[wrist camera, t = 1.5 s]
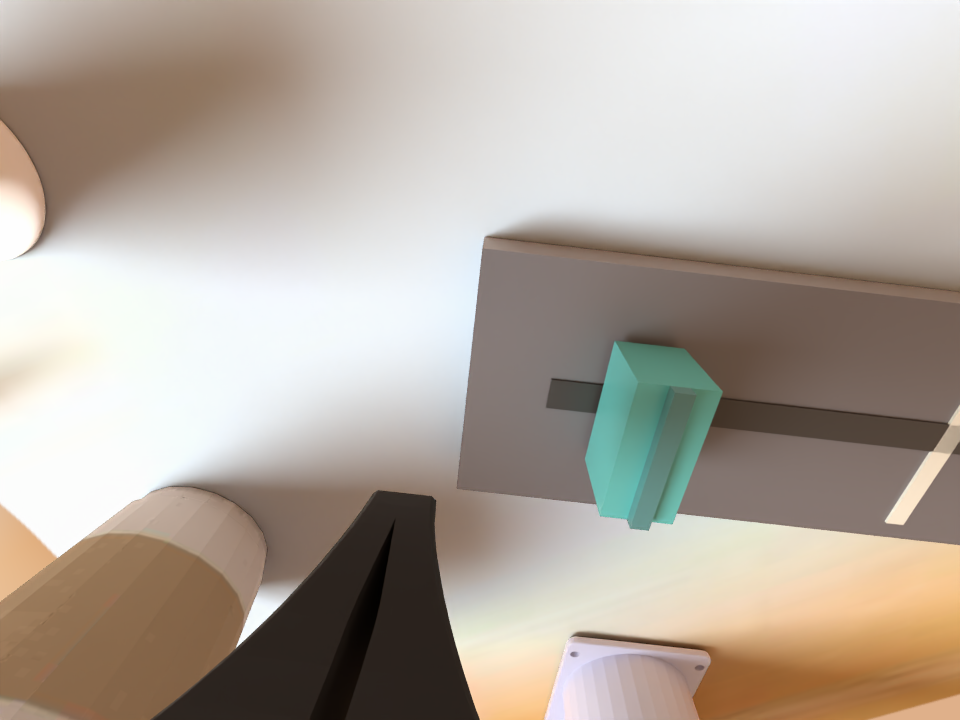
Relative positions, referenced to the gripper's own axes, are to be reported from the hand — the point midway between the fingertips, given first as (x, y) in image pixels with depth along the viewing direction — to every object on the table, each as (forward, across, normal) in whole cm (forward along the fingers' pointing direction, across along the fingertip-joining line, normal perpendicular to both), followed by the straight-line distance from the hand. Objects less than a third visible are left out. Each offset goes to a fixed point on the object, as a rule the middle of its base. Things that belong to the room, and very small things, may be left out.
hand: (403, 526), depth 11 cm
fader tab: (+7, -7, 0) cm, 10 cm away
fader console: (+9, -13, 0) cm, 16 cm away
